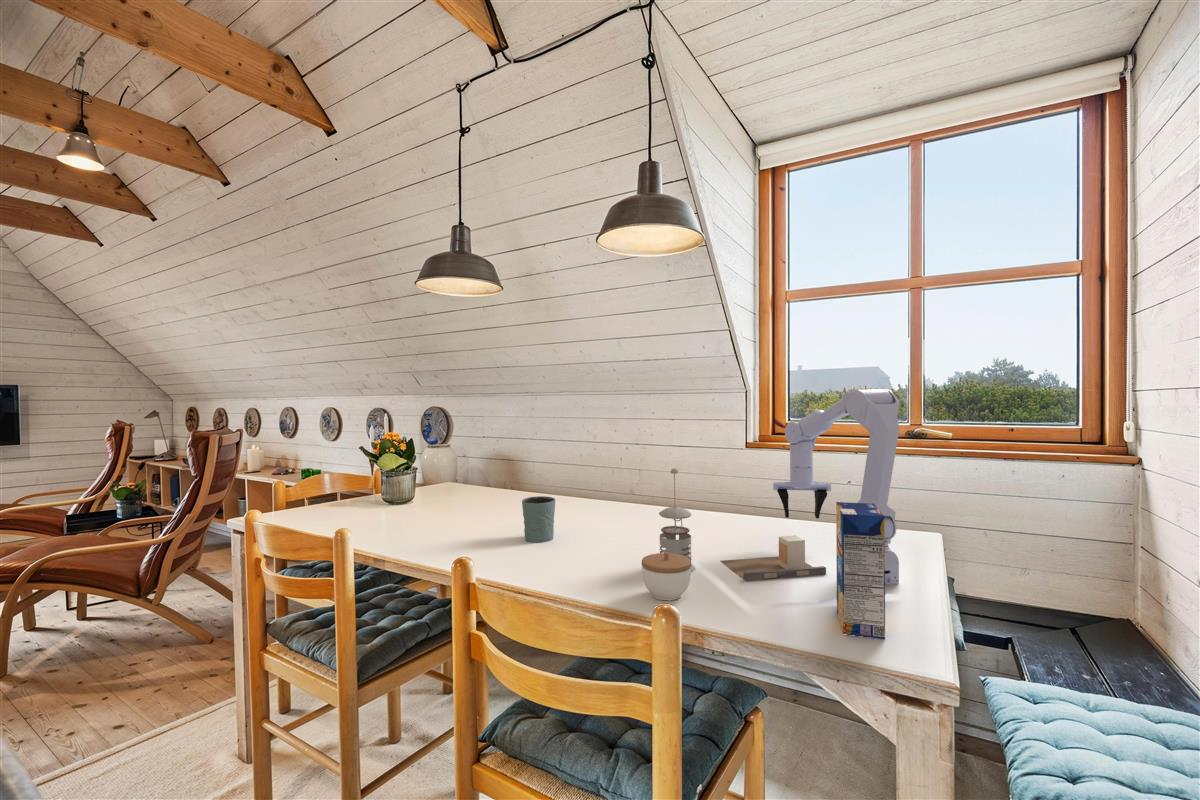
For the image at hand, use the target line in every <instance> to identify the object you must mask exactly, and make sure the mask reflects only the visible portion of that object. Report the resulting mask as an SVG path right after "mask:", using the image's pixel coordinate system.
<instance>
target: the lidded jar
mask: <svg viewBox="0 0 1200 800" xmlns="http://www.w3.org/2000/svg"><path fill="white" fill-rule="evenodd" d="M691 564H692V559H691V560H690V559H689V558H688V557H686V556H683V555H679V554H672V553H668V552H664V553H660V552H659V553H651V554H647V555H646V556H644V557H643V558H642V559H641V571H642V579H643V582H644V585H645V587H646V589H647V591H648V592H649V593H651V595H652V597H653V598H654V599H657V600H659V601H663V600H668V601H667V602H669V601H671V600H672V601H676V600H675V599H677V600H679V599H681V597H682V595H683V594H684V593H685V592H686V591H687V590H688V587H689V586H690V582H691V576H692V572H691ZM678 598H679V599H678ZM672 601H671V602H672Z"/></svg>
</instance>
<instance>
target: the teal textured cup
mask: <svg viewBox="0 0 1200 800" xmlns="http://www.w3.org/2000/svg"><path fill="white" fill-rule="evenodd" d="M521 503H522V504H521V505H522V506H521V507H522V516H523V524H524V525H523V526H524V529H523V530H524V531H523V532H524V539H525V541H526V542H529V543H535V544H537V543H538V544H539V543H547V542H551V541H552V540H554V532H555V531H554V530H555V529H554V528H555V525H554V523H555V512H556V498H555V497H552V496H542V495H541V496H540V495H539V496H538V495H537V496H528V497H526V498H523V499H522V500H521Z"/></svg>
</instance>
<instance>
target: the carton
mask: <svg viewBox="0 0 1200 800" xmlns="http://www.w3.org/2000/svg"><path fill="white" fill-rule="evenodd" d="M778 556H779V565H780V566H782V567H783V568H785V569H794V568H805V563H806V540H805V539H803V538H802V537H799V536H797V535H784V536H782V535H781V536H780V535H779V536H778Z"/></svg>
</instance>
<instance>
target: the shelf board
mask: <svg viewBox="0 0 1200 800" xmlns="http://www.w3.org/2000/svg"><path fill="white" fill-rule="evenodd" d="M719 562H720V563H721V564H723V565H724V566H725V567H727V568H729V570H731V571H732V572H733V573H735V574H736V575H737V576H738V577H740V578H741V579H742V580H743V581H745V582H750V581H764V580H775V579H787V578H788V579H790V578H799V577H802V578H803V577H812V576H813V577H814V576H824V575H827V567H826V566H824V565H822V566H821V565H818V566H812V565H810V564H808V563H807V562H805V568H794V569H785V568H783V567H782V566H780V565H779V555H778V556H766V557H751V558H739V559H726V560H719Z"/></svg>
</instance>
